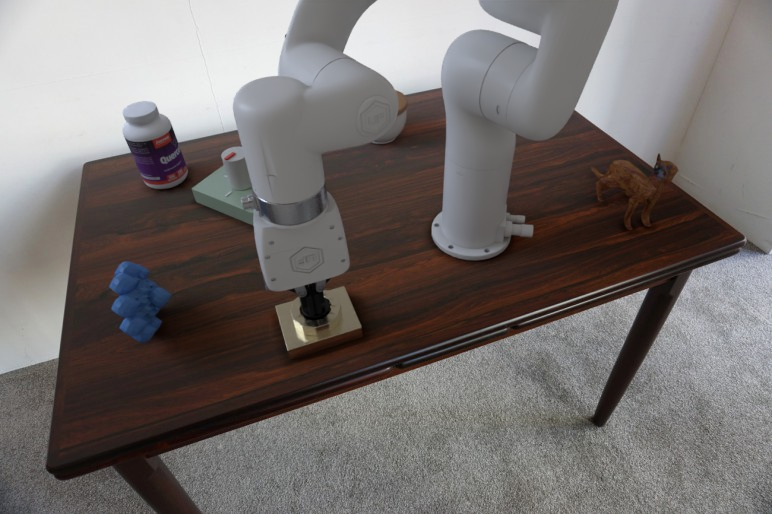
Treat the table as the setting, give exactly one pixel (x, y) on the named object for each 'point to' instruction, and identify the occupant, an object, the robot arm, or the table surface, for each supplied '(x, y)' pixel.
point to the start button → (325, 312)
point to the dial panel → (223, 196)
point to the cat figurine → (636, 185)
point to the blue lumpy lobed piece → (137, 301)
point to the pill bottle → (154, 145)
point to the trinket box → (398, 123)
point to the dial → (236, 168)
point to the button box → (319, 325)
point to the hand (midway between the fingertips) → (313, 307)
